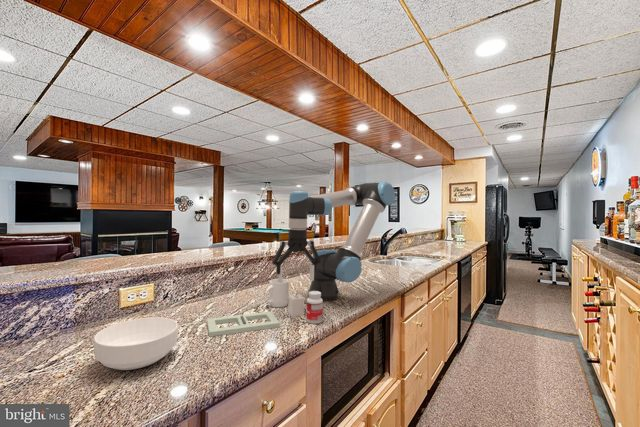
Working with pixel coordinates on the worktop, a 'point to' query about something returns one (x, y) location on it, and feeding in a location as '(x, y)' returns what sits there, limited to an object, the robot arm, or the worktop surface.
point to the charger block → (296, 305)
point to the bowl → (135, 342)
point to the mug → (278, 293)
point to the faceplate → (241, 323)
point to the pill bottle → (314, 307)
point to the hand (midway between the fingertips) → (296, 281)
